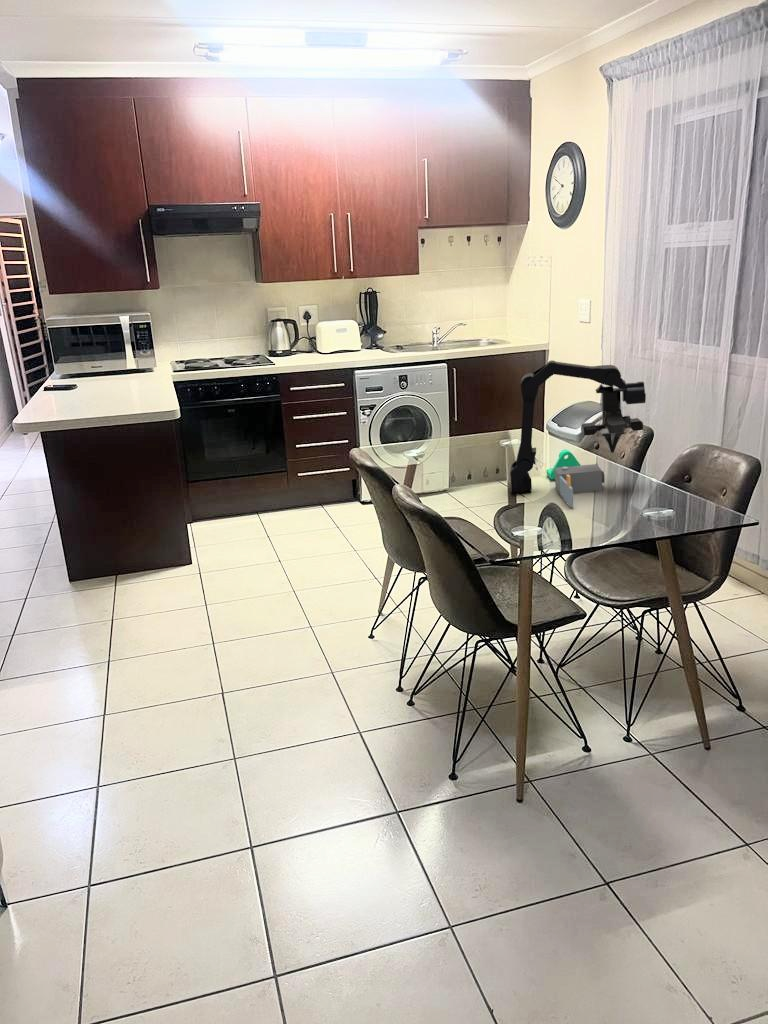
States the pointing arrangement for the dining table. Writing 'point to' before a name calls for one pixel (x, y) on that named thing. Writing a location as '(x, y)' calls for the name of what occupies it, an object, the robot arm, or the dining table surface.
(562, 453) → the camera mount
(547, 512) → the dining table surface
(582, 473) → the camera body
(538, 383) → the robot arm
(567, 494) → the side door
